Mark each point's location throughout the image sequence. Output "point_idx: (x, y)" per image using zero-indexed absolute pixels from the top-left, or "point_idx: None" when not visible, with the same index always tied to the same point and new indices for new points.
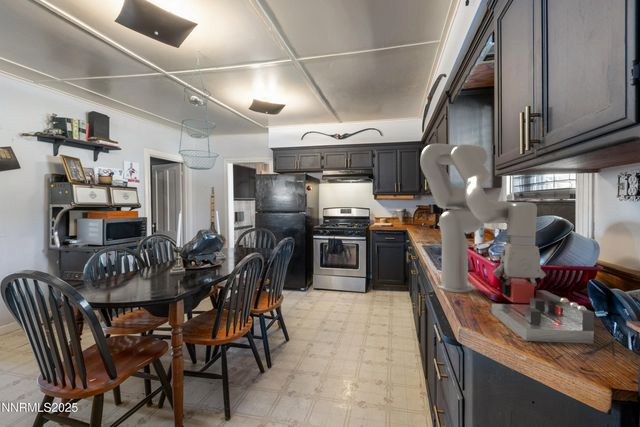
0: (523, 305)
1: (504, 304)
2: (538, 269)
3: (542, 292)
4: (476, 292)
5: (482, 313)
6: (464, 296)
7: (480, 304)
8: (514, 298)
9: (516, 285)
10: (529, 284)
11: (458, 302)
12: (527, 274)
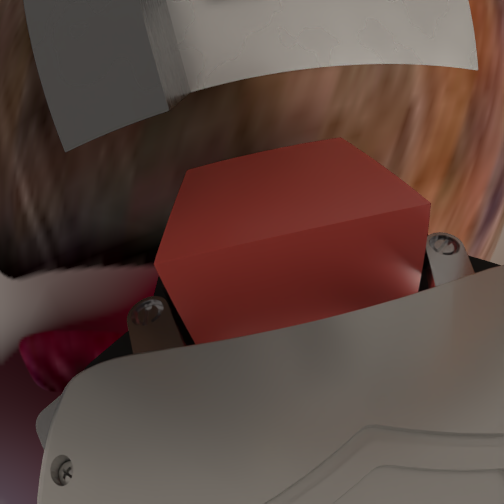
0: (299, 46)
1: (422, 57)
2: (56, 493)
3: (116, 22)
4: None
5: (467, 72)
6: None
7: (432, 202)
8: (341, 147)
9: (386, 199)
10: (219, 245)
11: (491, 206)
12: (270, 386)
